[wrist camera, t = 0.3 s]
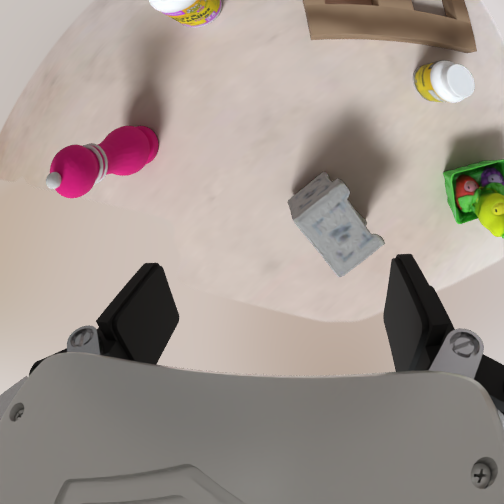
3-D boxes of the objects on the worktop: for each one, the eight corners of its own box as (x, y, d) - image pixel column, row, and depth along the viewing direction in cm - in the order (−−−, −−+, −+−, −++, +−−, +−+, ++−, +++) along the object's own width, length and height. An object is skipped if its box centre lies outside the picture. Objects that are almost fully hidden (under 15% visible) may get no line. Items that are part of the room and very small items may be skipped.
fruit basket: (489, 150, 30) (533, 169, 20) (494, 202, 33) (532, 231, 24) (434, 165, 34) (472, 188, 24) (443, 219, 37) (475, 254, 27)
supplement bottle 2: (420, 58, 26) (451, 48, 18) (449, 81, 27) (485, 79, 18) (405, 86, 29) (435, 83, 21) (435, 109, 30) (470, 113, 21)
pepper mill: (128, 117, 38) (30, 141, 20) (167, 130, 38) (74, 159, 21) (119, 159, 41) (28, 202, 24) (155, 173, 42) (69, 226, 24)
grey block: (371, 216, 39) (389, 250, 30) (326, 246, 43) (331, 285, 34) (333, 162, 37) (343, 182, 28) (286, 197, 40) (281, 226, 31)
